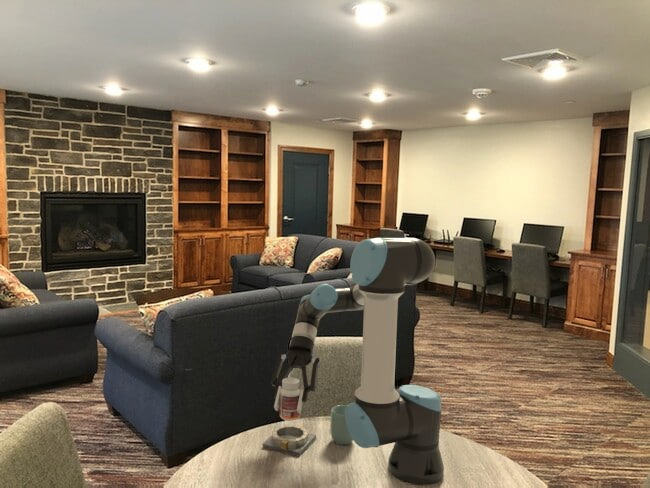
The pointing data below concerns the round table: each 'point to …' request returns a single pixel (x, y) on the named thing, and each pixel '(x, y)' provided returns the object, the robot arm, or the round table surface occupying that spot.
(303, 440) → the hub plate
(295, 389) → the pill bottle
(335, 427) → the cup
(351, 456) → the round table surface
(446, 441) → the round table surface
